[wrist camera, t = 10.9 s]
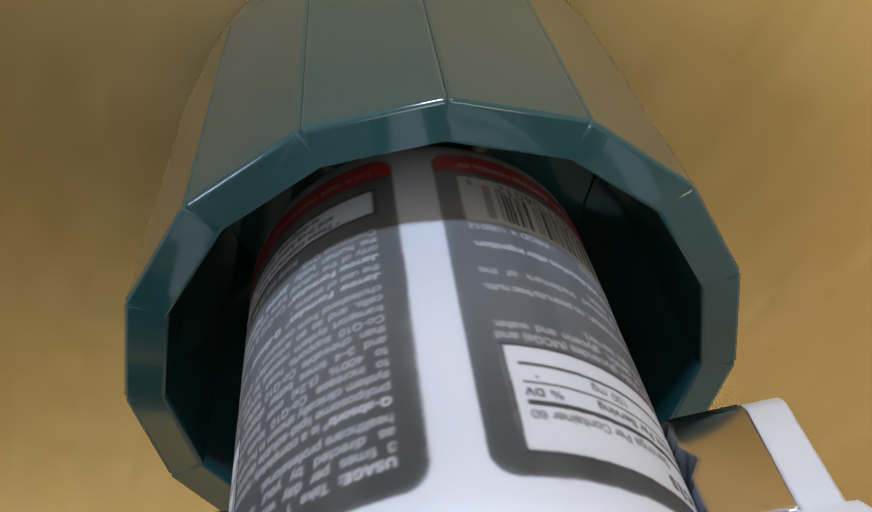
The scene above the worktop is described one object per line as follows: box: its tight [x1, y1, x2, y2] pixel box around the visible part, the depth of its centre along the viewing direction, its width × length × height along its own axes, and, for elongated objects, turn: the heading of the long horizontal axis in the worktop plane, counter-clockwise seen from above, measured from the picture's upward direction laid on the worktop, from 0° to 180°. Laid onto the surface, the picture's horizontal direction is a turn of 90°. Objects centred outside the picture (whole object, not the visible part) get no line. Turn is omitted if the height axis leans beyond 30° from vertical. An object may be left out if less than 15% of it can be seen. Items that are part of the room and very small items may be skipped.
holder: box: [124, 0, 740, 511], centre depth 15 cm, size 9×9×7 cm
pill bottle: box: [229, 146, 698, 512], centre depth 11 cm, size 6×6×10 cm
